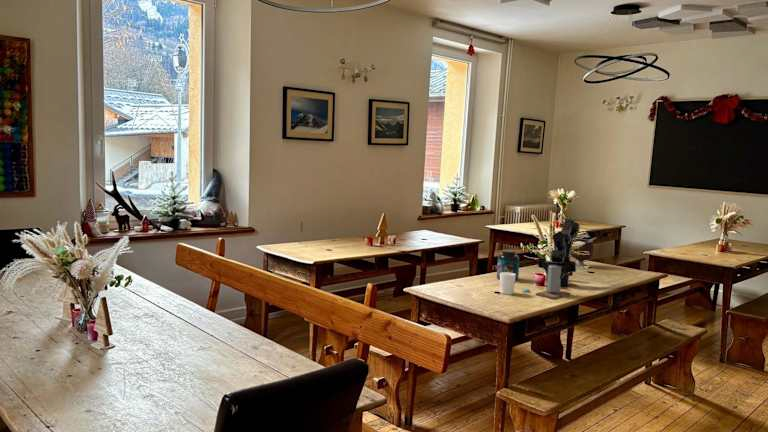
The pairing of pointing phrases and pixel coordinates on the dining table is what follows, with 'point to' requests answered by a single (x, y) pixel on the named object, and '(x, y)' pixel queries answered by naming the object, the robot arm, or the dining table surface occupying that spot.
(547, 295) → the walnut board
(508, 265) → the container
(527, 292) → the teal token
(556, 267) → the canister
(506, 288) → the white cup
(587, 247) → the mate gourd
